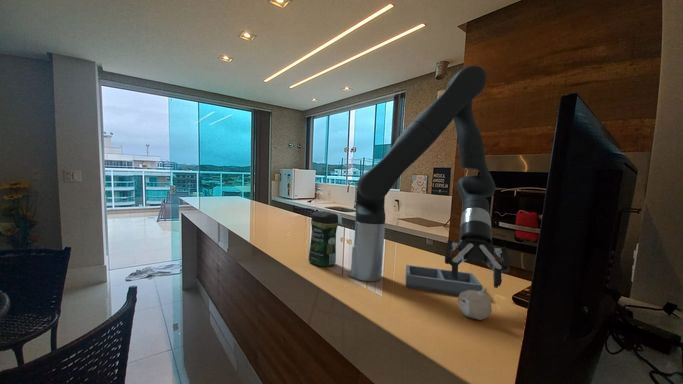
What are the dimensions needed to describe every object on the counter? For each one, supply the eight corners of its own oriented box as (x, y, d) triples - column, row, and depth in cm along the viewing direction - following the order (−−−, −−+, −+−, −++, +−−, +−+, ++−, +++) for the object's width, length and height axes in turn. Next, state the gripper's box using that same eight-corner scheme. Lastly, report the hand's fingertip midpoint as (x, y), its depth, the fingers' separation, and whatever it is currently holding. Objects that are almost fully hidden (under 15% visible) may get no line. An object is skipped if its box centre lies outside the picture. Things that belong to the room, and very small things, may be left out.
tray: (405, 287, 76) (406, 275, 76) (405, 275, 87) (406, 264, 87) (481, 298, 72) (482, 285, 71) (471, 284, 82) (472, 273, 82)
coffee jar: (304, 262, 94) (307, 210, 94) (320, 258, 100) (323, 209, 100) (323, 269, 88) (326, 213, 87) (339, 264, 94) (342, 212, 93)
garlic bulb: (460, 321, 58) (463, 285, 58) (454, 308, 64) (457, 276, 64) (493, 326, 57) (496, 289, 56) (484, 313, 63) (487, 279, 63)
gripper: (448, 216, 73) (443, 269, 62) (508, 222, 67) (514, 280, 57) (447, 233, 78) (443, 284, 67) (503, 239, 72) (508, 296, 62)
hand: (475, 282), depth 62 cm, fingers open, 8 cm apart
